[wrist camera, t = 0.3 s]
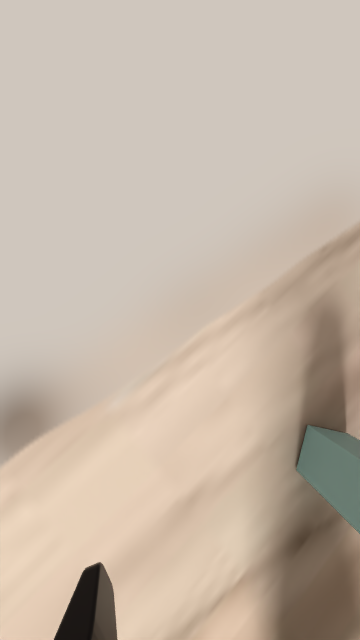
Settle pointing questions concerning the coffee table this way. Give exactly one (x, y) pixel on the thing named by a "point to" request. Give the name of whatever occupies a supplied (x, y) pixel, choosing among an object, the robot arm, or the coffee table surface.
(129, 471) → the coffee table surface
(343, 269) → the coffee table surface
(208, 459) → the coffee table surface
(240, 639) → the coffee table surface
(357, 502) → the teal block
